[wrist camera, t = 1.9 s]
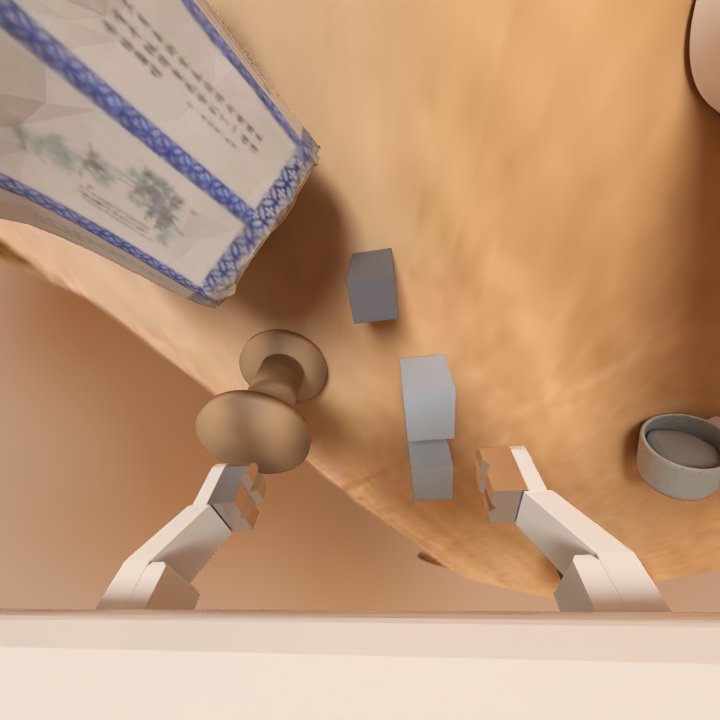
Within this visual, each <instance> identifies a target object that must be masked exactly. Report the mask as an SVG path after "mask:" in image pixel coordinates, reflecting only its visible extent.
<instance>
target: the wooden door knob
mask: <svg viewBox="0 0 720 720" xmlns="http://www.w3.org/2000/svg"><path fill="white" fill-rule="evenodd" d="M239 364H240V370H241V373H242V375H243V377H244V379H245V380H246V382H247V383H248V384H249V385H250V386H249V388H248V390H235V391H228V392H225V393H221V394H219V395H217V396H215V397H214V398H212V399H210V400H209V401H208V402H207V403H206V405H205V406H204V408H203V409H202V411H201V412H200V414H199V415H198V417H197V420H196V433H197V435H198V438H199V440H200V442H201V443H202V445H203V446H204V447H205V448H206V449H207V450H208V451H209V452H210V453H211V454H212V455H213V456H215V457H216V458H217V459H219V460H220V461H223V462H224V463H226V464H228V463H256V465H257V466H258V471H257V472H259V473H261V474H273V473H281V472H285V471H289V470H291V469H293V468H295V467H297V466H299V465H300V464H301V463H302V462H303V461H304V460H305V458H306V457H307V455H308V452H309V448H310V444H311V431H310V428H309V426H308V423H307V422H306V420H305V419H304V417H303V416H302V415H301V414H300V413H299V412H298V411H297V410H296V409H295V408H294V406H295V403H298V402H303V401H306V400H309V399H311V398H313V397H314V396H316V395H317V394H318V393H319V392H320V391H321V389H322V388H323V386H324V383H325V379H326V375H327V365H326V361H325V358H324V356H323V354H322V353H321V351H320V350H319V349H318V347H317V346H316V345H315V344H314V343H312V342H311V341H310V340H308V339H307V338H305V337H304V336H302V335H300V334H297V333H294V332H291V331H286V330H268V331H264V332H261V333H259V334H257V335H255V336H254V337H252V338H251V339H250V340H249V341H248V343H247V344H246V345H245V347H244V348H243V350H242V352H241V355H240V361H239Z"/></svg>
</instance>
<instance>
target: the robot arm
mask: <svg viewBox="0 0 720 720" xmlns="http://www.w3.org/2000/svg"><path fill="white" fill-rule="evenodd" d="M690 64H691V70H692V75H693V78H694V81H695V84H696V86H697V89H698V90H699V92H700V94H701V96H702V97H703V98H704V100H705V101H706V102H707V103H708V104H709V105H710V106H711V107H713V108H714V109H715V110H716V111H718V112H719V113H720V0H696V4H695V8H694V13H693V19H692V24H691V32H690ZM476 458H477V462H476V463H475V478H476V482H477V486H478V490H479V491H480V492H481V493H482V494H483V506H484V510H485V513H486V516H487V519H488V522H516V523H515V524H516V525H517V526H518V527H519V528H520V529H521V530H522V531H523V533H524V534H525V535H526V536H527V537H528V538H529V539H530V540H531V541H532V542H533V543H534V544H535V545H536V547H537V548H538V549H539V550H540V551H541V552H542V553H543V554H544V555H545V556H546V557H547V558H548V559H549V561H550V562H551V563H552V564H553V565H554V566H555V567H556V568H557V569H558V570H559V571H560V572H561V573H562V575H563V578H562V580H561V582H560V583H559V585H558V587H557V589H556V591H555V593H554V596H555V599H556V601H557V604H558V606H559V609H560V612H541V611H540V612H539V611H536V612H535V611H527V612H526V611H365V610H363V611H362V610H361V611H360V610H358V611H357V610H194V609H195V606H196V604H197V601H198V599H199V596H200V593H199V591H198V590H197V589H196V588H195V587H194V586H192V585H191V584H190V582H191V581H192V580H193V579H194V578H195V576H196V575H197V574H198V573H199V572H200V570H201V569H202V568H203V567H204V566H205V564H206V563H207V561H209V559H210V558H211V557H212V556H213V555H214V553H215V552H216V551H217V550H218V548H219V547H220V546H221V545H222V543H223V542H224V541H225V540H226V539H227V538H228V536H229V535H230V534H231V533H232V532H231V531H238V530H253V529H254V526H255V523H256V520H257V517H258V514H259V510H258V507H257V505H259V504H260V503H261V501H262V500H263V498H264V495H265V490H266V483H265V479H264V477H263V475H262V474H260V473H259V472H257V471H258V466H257V465H256V463H228V464H216V465H215V466H214V467H213V468H212V469H211V471H210V473H209V475H208V477H207V479H206V480H205V482H204V484H203V486H202V488H201V490H200V492H199V494H198V496H197V498H196V500H195V501H194V503H193V505H189V506H188V507H186V508H185V509H184V510H183V511H182V512H181V513H180V514H178V515H177V516H176V517H175V518H174V519H173V520H172V521H170V522H169V523H168V524H167V525H166V526H165V527H164V528H162V529H161V530H160V531H159V532H158V533H157V534H156V535H154V536H153V537H152V538H151V539H150V540H149V541H147V542H146V543H145V544H144V545H143V546H142V547H141V548H139V549H138V550H137V551H136V552H135V553H134V554H132V555H131V556H130V557H129V558H128V559H127V560H126V561H125V562H124V563H123V565H122V567H121V569H120V570H119V571H118V573H117V575H116V576H115V578H114V580H113V581H112V583H111V584H110V586H109V588H108V589H107V591H106V593H105V594H104V596H103V597H102V599H101V601H100V602H99V604H98V606H97V607H96V609H9V608H0V720H720V613H718V612H717V613H716V612H711V613H710V612H706V613H705V612H672V611H671V610H670V608H669V607H668V605H667V603H666V602H665V600H664V599H663V597H662V596H661V594H660V593H659V591H658V589H657V588H656V586H655V585H654V583H653V581H652V580H651V578H650V577H649V575H648V574H647V572H646V570H645V569H644V567H643V566H642V564H641V563H640V561H639V559H638V558H637V556H636V555H635V553H634V552H632V551H631V550H630V549H629V548H627V547H626V546H625V545H623V544H622V543H621V542H619V541H618V540H617V539H616V538H614V537H613V536H612V535H610V534H609V533H608V532H606V531H605V530H604V529H603V528H601V527H600V526H599V525H597V524H596V523H595V522H593V521H592V520H591V519H589V518H588V517H587V516H586V515H584V514H583V513H582V512H580V511H579V510H578V509H576V508H575V507H574V506H573V505H571V504H570V503H569V502H567V501H566V500H565V499H563V498H562V497H561V496H560V495H558V494H557V493H556V492H554V491H553V490H547V488H546V486H545V484H544V482H543V480H542V478H541V476H540V475H539V473H538V471H537V469H536V467H535V465H534V463H533V461H532V459H531V457H530V455H529V453H528V451H527V449H526V448H525V447H524V446H509V447H507V446H503V447H490V448H477V450H476Z"/></svg>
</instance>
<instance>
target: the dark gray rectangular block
mask: <svg viewBox="0 0 720 720" xmlns="http://www.w3.org/2000/svg"><path fill="white" fill-rule="evenodd" d="M346 283H347V288H348V294H349V299H350V304H351V309H352V315H353V320H354V324H356V323H365V322H373V321H382V320H390V319H398V310H397V299H396V289H395V278H394V269H393V260H392V251H391V248H388V249H382V250H375V251H368V252H361V253H355V254H353V256H352V260H351V264H350V268H349V272H348V276H347V280H346Z"/></svg>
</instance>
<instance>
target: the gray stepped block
mask: <svg viewBox="0 0 720 720" xmlns="http://www.w3.org/2000/svg"><path fill="white" fill-rule="evenodd" d="M400 368H401V379H402V389H403V400H404V409H405V419H406V429H407V438H408V446H409V457H410V468H411V477H412V487H413V497H414V501H416V500H446V499H453V462H452V458H451V454H450V449H449V445H448V441H447V439H454V434H455V401H456V389H455V385H454V382H453V379H452V376H451V373H450V369H449V366H448V363H447V360H446V357H445V354H442V355H432V356H422V357H411V358H401V359H400Z"/></svg>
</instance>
